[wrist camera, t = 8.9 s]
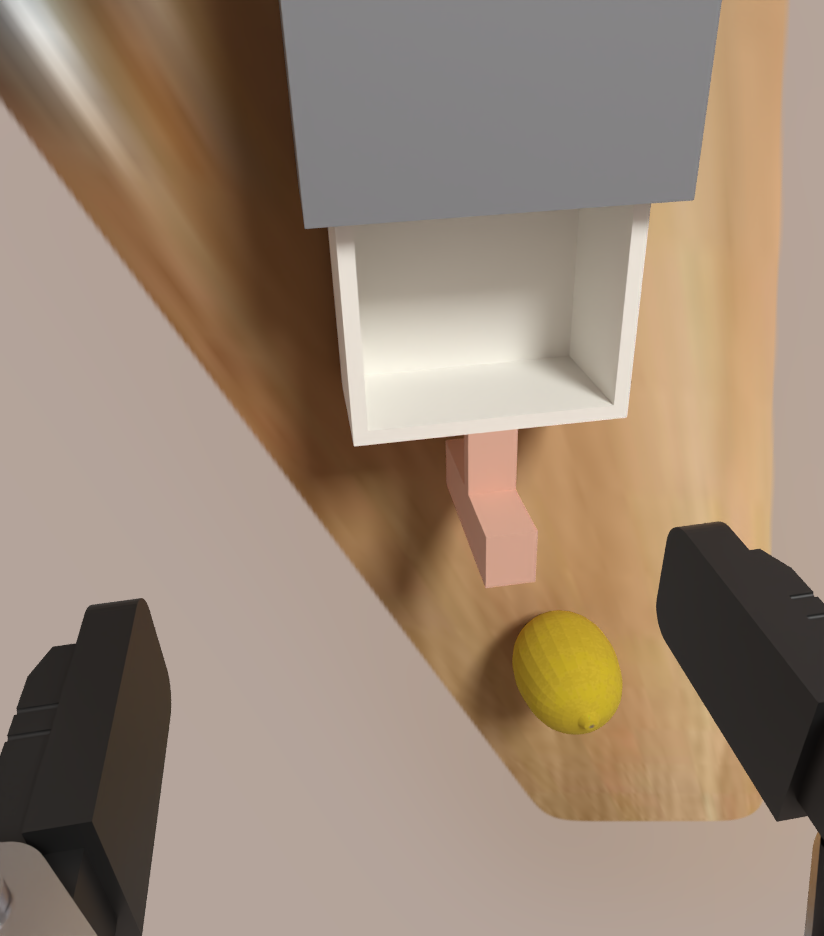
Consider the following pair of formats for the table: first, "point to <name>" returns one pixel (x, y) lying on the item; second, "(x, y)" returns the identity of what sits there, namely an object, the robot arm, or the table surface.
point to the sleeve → (494, 105)
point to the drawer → (488, 346)
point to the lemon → (567, 672)
